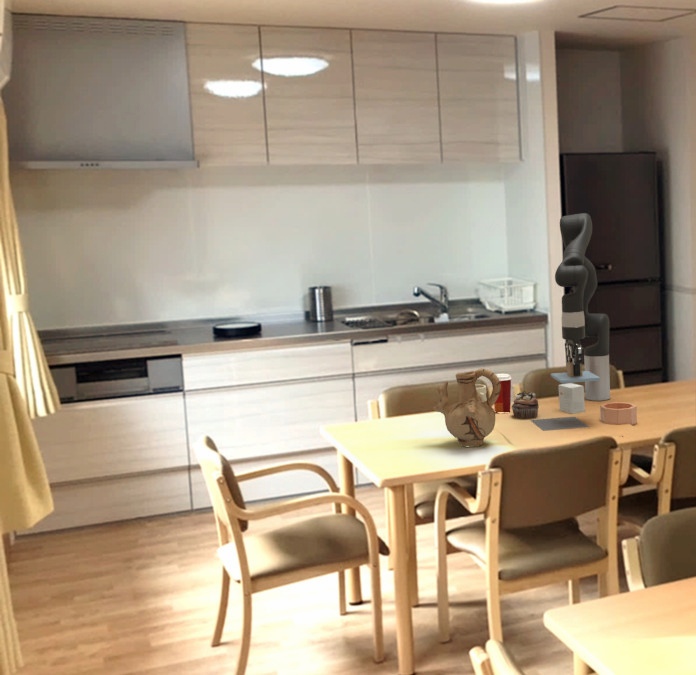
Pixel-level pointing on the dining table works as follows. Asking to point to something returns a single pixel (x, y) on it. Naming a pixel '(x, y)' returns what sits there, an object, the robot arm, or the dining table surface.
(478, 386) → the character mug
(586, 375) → the lid
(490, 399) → the ceramic vessel
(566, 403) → the small box
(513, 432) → the dining table surface
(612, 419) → the bowl
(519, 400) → the cupcake
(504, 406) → the paper cup
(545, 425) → the mat
